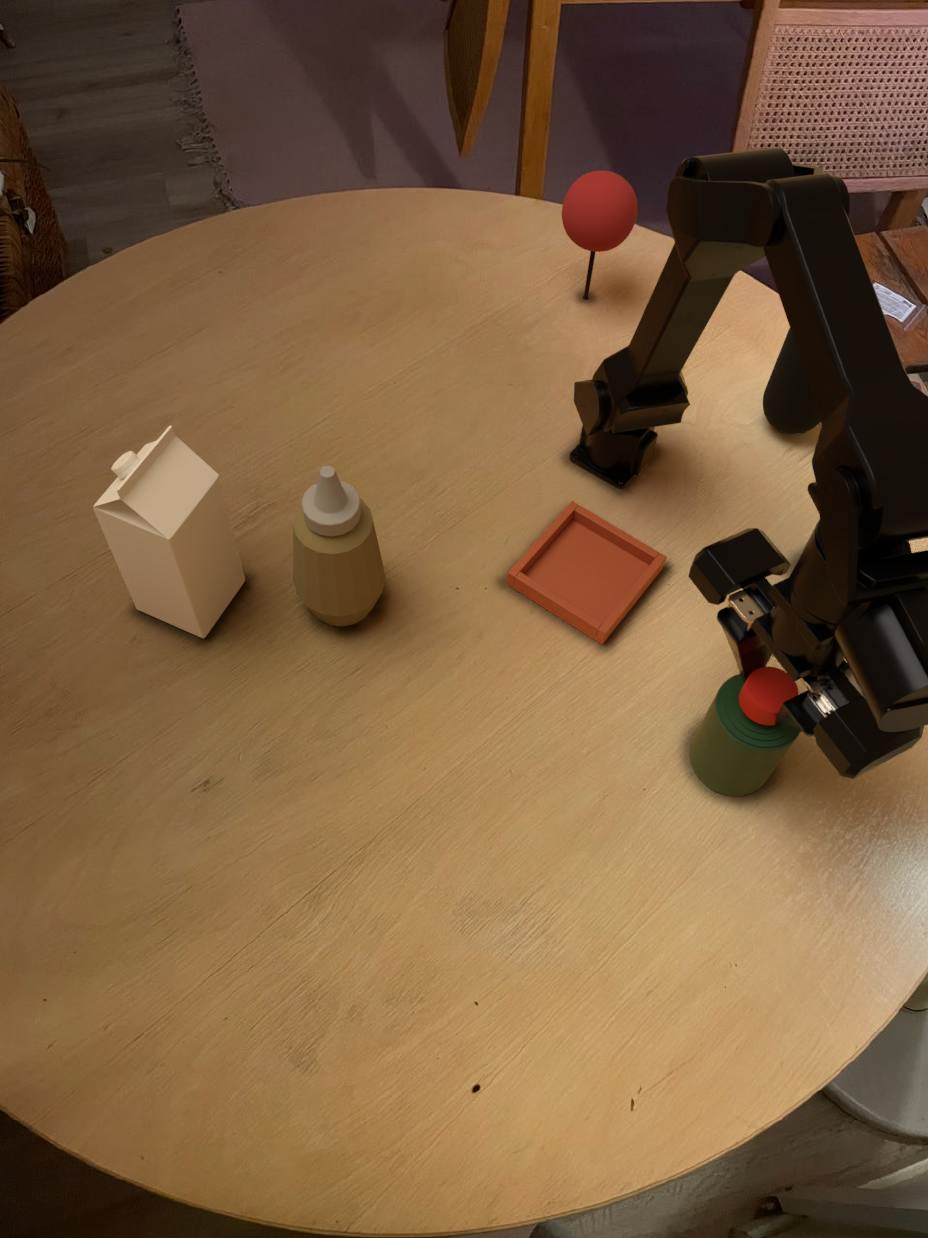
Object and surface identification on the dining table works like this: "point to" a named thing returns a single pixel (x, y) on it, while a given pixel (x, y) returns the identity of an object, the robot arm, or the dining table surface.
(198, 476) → the milk carton
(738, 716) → the bottle
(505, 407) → the dining table surface
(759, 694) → the cap
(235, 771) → the dining table surface
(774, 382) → the decorative object
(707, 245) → the robot arm
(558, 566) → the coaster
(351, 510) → the squeeze bottle
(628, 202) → the lollipop
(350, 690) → the dining table surface
